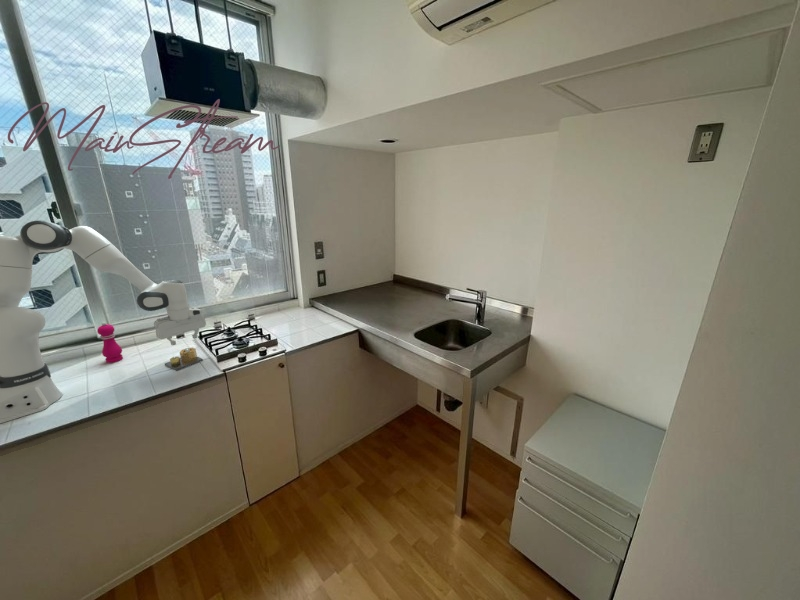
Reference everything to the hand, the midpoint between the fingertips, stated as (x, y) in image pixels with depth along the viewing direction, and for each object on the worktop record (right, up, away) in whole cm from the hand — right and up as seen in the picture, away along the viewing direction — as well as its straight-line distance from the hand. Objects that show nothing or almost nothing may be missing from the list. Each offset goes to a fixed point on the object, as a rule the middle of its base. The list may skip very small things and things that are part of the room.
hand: (184, 341), depth 150 cm
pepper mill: (-38, -10, +5) cm, 40 cm away
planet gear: (0, -9, +4) cm, 10 cm away
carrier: (-1, -11, +2) cm, 11 cm away
